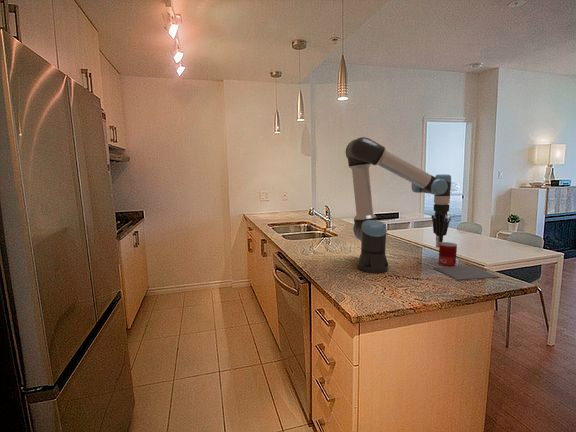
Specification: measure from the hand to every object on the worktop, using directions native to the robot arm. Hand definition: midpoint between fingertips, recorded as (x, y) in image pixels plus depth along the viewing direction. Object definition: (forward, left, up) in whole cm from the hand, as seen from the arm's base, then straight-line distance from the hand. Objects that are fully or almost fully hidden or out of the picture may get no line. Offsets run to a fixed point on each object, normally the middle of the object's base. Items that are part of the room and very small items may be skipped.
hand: (438, 247), depth 173 cm
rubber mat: (-1, -22, -7) cm, 23 cm away
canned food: (0, -7, -8) cm, 11 cm away
